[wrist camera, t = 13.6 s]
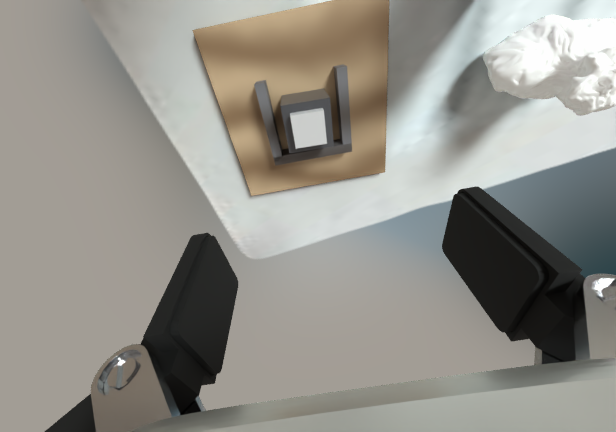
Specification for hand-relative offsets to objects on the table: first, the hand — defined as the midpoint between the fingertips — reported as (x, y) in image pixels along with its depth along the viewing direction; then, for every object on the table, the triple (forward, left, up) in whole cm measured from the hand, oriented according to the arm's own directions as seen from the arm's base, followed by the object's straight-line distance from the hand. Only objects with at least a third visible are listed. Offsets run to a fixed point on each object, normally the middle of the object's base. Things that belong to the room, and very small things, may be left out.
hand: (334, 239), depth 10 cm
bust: (-1, +24, -23) cm, 33 cm away
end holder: (0, 0, -22) cm, 22 cm away
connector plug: (0, 0, -21) cm, 21 cm away
